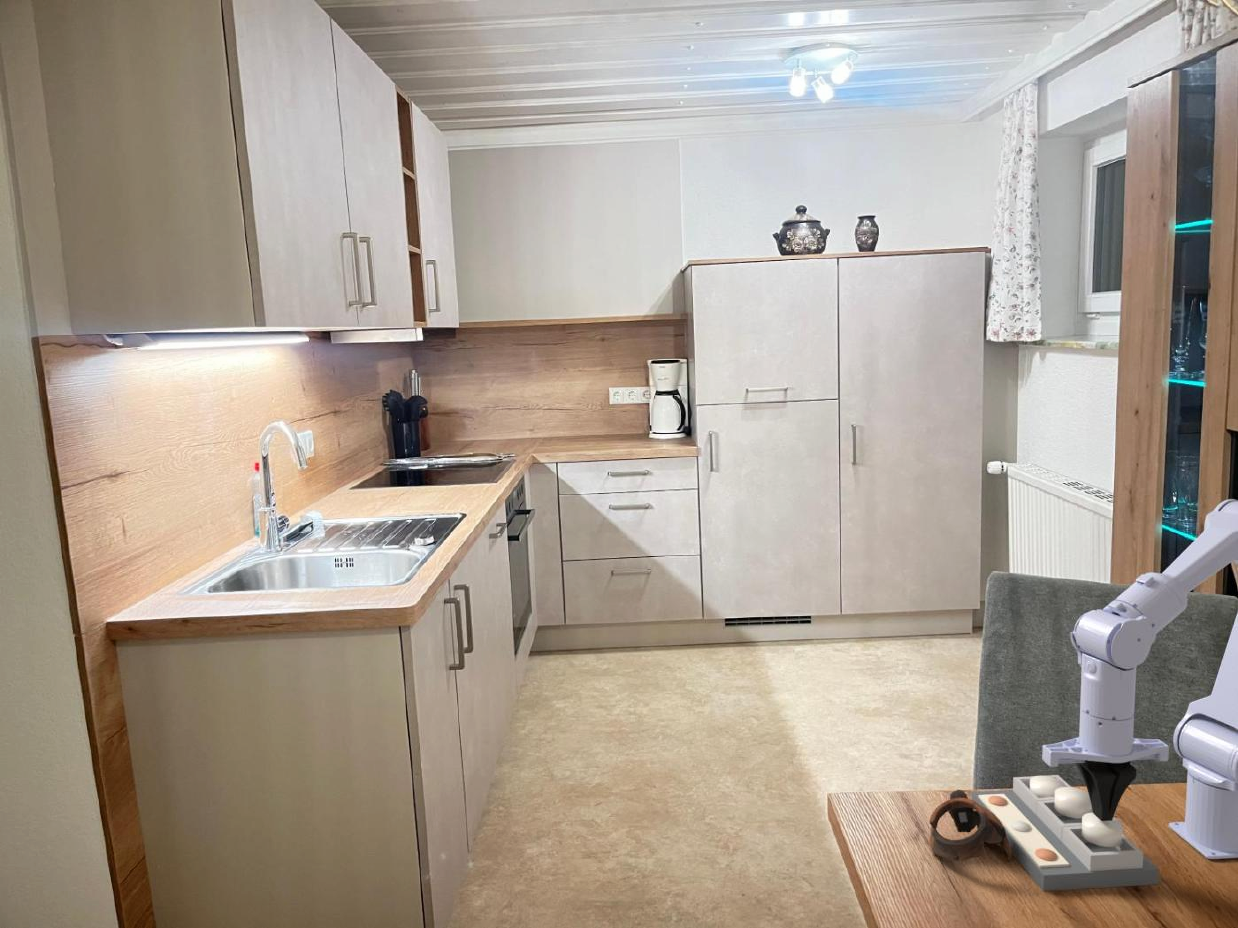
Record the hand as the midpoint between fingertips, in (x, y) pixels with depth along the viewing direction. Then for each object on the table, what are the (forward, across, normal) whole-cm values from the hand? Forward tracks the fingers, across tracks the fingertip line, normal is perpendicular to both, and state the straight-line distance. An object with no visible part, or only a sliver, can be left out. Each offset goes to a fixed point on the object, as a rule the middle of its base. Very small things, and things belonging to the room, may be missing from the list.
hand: (1102, 816), depth 109 cm
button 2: (+3, 0, 0) cm, 3 cm away
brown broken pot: (+7, +14, -6) cm, 17 cm away
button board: (+7, +2, -6) cm, 10 cm away
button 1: (+4, 0, -13) cm, 14 cm away
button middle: (+3, 0, -6) cm, 7 cm away
